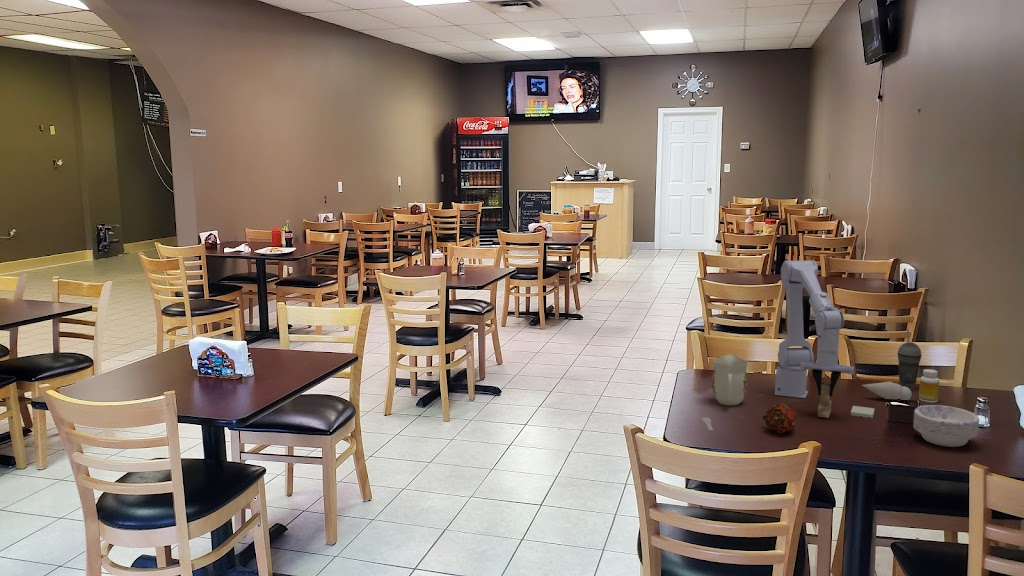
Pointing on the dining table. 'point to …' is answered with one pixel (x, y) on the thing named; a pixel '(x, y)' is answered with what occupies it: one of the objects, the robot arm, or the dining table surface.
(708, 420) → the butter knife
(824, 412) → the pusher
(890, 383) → the ice cream cone
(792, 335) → the robot arm
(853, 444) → the dining table surface
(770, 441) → the dining table surface
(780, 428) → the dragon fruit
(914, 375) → the beverage cup
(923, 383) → the supplement bottle
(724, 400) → the pitcher
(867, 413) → the tile
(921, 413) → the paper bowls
